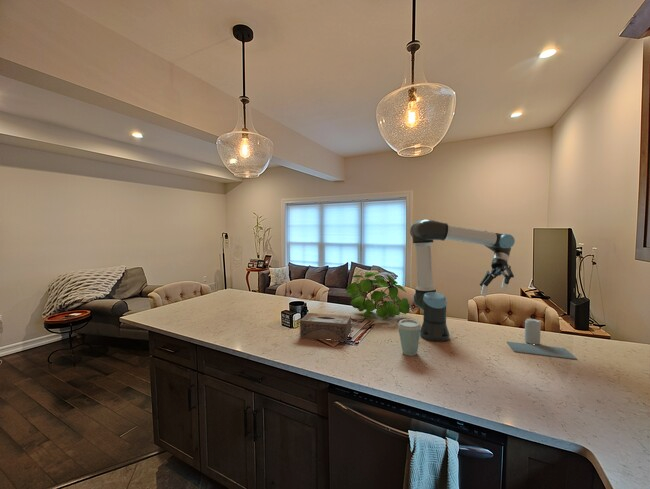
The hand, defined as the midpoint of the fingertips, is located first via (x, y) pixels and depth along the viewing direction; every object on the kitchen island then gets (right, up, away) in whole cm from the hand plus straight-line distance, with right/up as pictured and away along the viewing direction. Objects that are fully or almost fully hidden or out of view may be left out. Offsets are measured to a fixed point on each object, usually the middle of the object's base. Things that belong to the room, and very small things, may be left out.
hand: (493, 292), depth 143 cm
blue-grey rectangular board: (+14, -26, -13) cm, 32 cm away
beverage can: (+17, -26, -4) cm, 31 cm away
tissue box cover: (-89, -26, +8) cm, 93 cm away
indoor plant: (-53, -24, +46) cm, 74 cm away
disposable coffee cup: (-50, -26, -15) cm, 58 cm away
